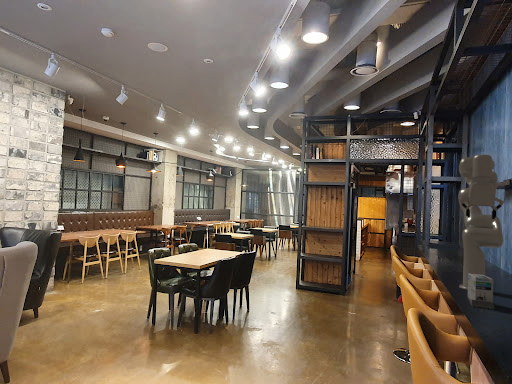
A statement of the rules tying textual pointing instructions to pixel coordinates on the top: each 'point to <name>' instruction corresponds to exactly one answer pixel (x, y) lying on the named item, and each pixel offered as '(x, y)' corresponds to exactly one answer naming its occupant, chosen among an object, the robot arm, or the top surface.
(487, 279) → the light bulb box
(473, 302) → the tray
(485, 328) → the top surface
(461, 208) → the robot arm
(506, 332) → the top surface
